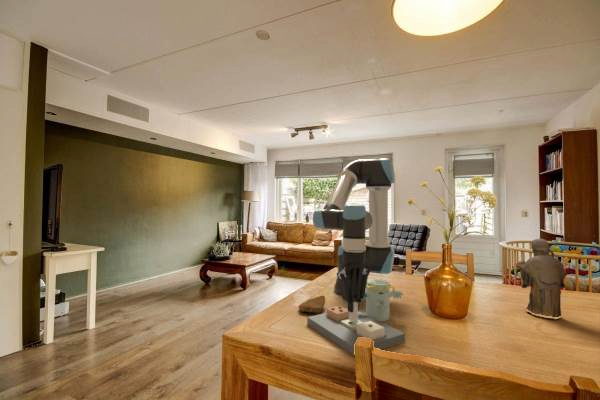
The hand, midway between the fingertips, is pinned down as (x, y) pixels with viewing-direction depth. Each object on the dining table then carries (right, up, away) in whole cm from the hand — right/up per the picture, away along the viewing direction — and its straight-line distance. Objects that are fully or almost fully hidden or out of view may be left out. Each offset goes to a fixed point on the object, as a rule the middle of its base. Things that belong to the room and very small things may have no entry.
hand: (353, 320), depth 97 cm
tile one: (+4, -2, -7) cm, 8 cm away
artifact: (-13, -4, +20) cm, 24 cm away
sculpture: (+78, -5, +19) cm, 81 cm away
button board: (0, -4, 0) cm, 4 cm away
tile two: (0, -4, 0) cm, 4 cm away
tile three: (-4, -2, +7) cm, 8 cm away
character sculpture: (+12, -4, +13) cm, 18 cm away
